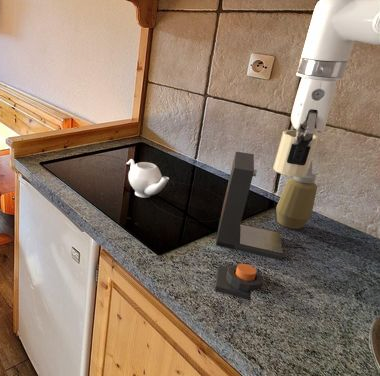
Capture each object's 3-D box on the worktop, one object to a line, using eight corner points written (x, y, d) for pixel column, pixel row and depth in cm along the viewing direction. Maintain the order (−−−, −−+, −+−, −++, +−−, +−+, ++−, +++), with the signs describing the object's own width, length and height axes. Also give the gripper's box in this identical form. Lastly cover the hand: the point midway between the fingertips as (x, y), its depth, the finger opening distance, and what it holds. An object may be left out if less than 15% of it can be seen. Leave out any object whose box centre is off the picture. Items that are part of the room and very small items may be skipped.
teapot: (137, 179, 131) (141, 152, 127) (176, 206, 114) (182, 176, 111) (111, 183, 128) (114, 155, 124) (148, 211, 111) (152, 181, 107)
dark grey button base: (268, 282, 84) (272, 270, 83) (269, 305, 78) (274, 293, 76) (217, 269, 88) (220, 257, 87) (214, 290, 81) (217, 278, 80)
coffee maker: (278, 235, 101) (301, 161, 93) (281, 260, 91) (307, 180, 83) (218, 222, 107) (235, 151, 98) (215, 245, 97) (233, 167, 88)
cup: (304, 168, 87) (315, 132, 83) (308, 179, 81) (320, 141, 78) (272, 163, 89) (282, 128, 85) (274, 173, 84) (284, 136, 80)
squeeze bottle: (313, 227, 106) (335, 163, 98) (295, 234, 102) (317, 168, 94) (283, 214, 112) (302, 152, 104) (265, 220, 108) (284, 157, 100)
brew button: (254, 273, 82) (256, 266, 82) (254, 283, 80) (256, 276, 79) (235, 268, 84) (237, 261, 83) (235, 278, 81) (236, 271, 80)
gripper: (355, 78, 68) (321, 176, 75) (335, 65, 82) (308, 148, 90) (304, 74, 70) (276, 169, 78) (293, 62, 85) (270, 143, 92)
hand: (293, 157), depth 84 cm, fingers closed on cup, 6 cm apart
